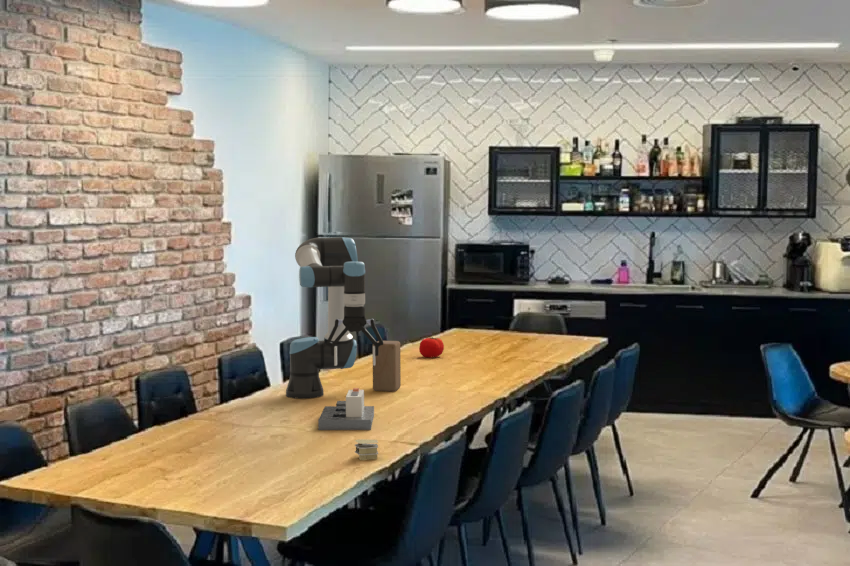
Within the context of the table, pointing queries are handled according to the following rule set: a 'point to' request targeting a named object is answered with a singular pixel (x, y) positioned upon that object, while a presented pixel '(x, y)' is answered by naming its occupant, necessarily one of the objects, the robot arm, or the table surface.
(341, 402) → the block
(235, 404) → the table surface
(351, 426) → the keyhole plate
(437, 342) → the tomato
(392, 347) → the wooden block
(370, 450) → the building
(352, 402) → the light grey box
